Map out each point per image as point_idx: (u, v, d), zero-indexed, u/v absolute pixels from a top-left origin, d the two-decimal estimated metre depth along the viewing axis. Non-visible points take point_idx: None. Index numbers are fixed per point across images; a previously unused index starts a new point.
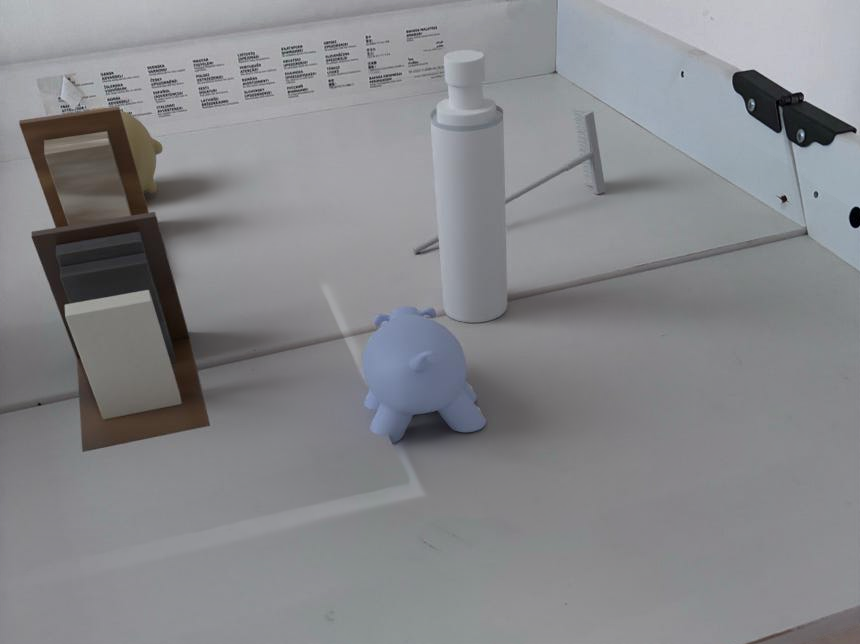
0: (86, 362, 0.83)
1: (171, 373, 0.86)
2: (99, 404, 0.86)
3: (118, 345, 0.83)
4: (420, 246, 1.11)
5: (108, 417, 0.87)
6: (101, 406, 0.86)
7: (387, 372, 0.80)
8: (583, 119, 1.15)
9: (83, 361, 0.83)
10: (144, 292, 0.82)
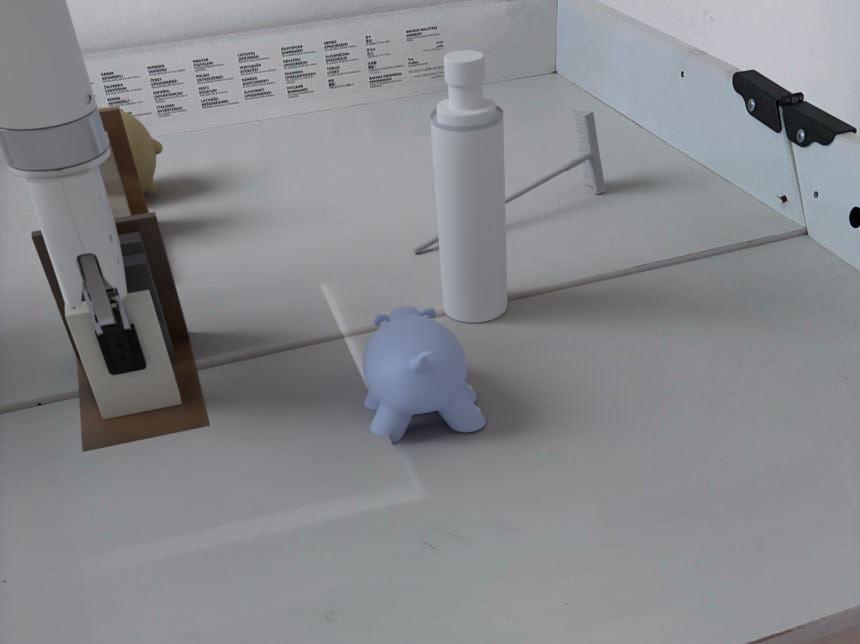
0: (86, 362, 0.83)
1: (171, 373, 0.86)
2: (99, 404, 0.86)
3: None
4: (420, 246, 1.11)
5: (108, 417, 0.87)
6: (101, 406, 0.86)
7: (387, 372, 0.80)
8: (582, 119, 1.15)
9: (83, 361, 0.83)
10: (144, 292, 0.82)
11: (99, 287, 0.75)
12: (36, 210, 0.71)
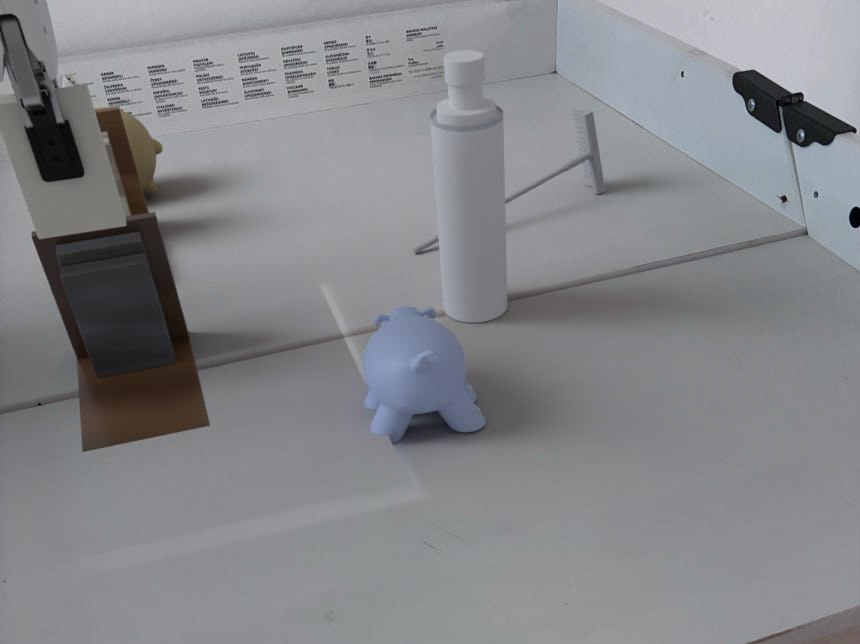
0: (16, 165, 0.74)
1: (113, 186, 0.77)
2: (33, 219, 0.77)
3: None
4: (420, 246, 1.11)
5: (44, 236, 0.78)
6: (35, 222, 0.78)
7: (387, 372, 0.80)
8: (582, 119, 1.15)
9: (13, 164, 0.74)
10: (81, 86, 0.74)
11: (23, 58, 0.67)
12: None
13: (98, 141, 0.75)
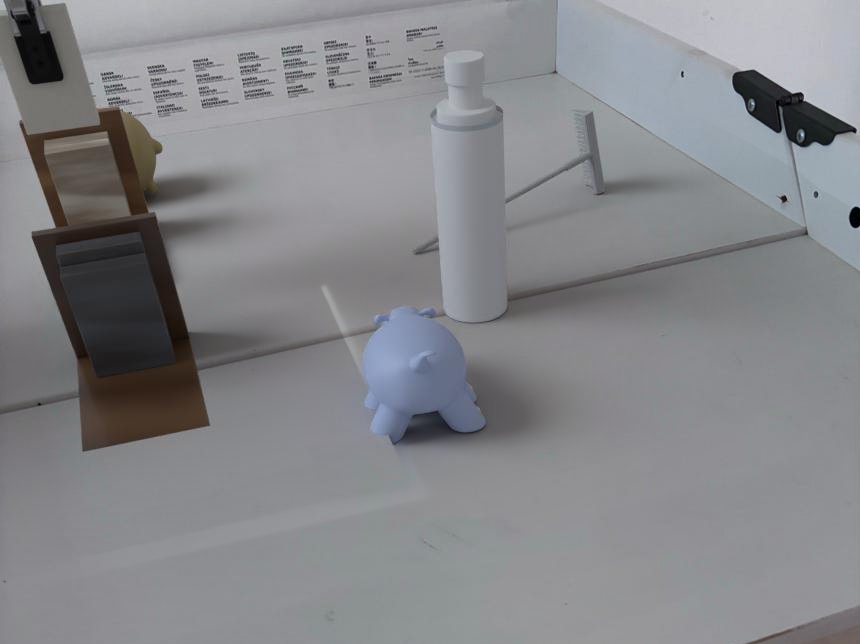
0: (8, 70, 0.91)
1: (88, 90, 0.94)
2: (22, 117, 0.94)
3: None
4: (420, 246, 1.11)
5: (31, 132, 0.95)
6: (24, 120, 0.94)
7: (387, 372, 0.80)
8: (582, 119, 1.15)
9: (5, 68, 0.91)
10: (61, 4, 0.90)
11: None
12: None
13: (75, 50, 0.92)
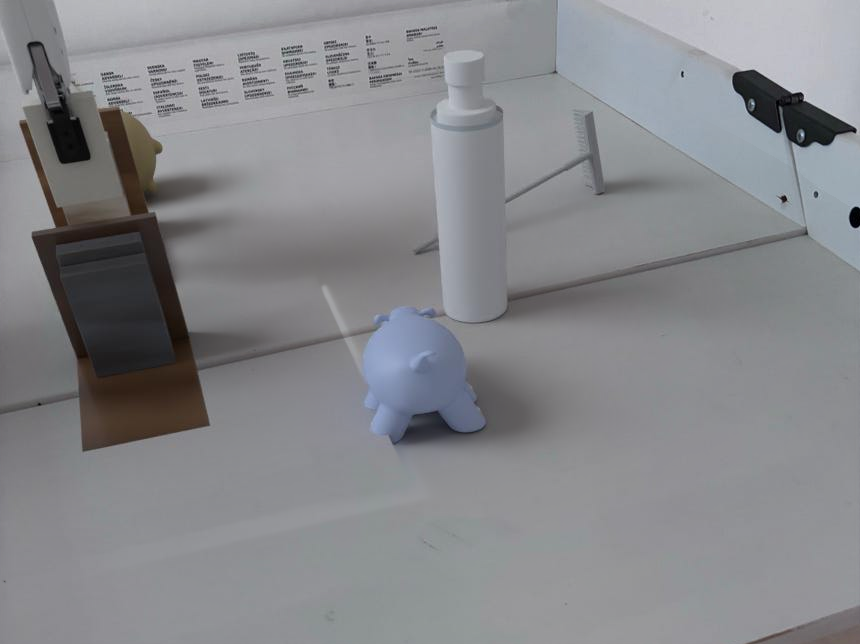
0: (41, 151, 1.00)
1: (113, 166, 1.03)
2: (53, 192, 1.03)
3: None
4: (420, 246, 1.11)
5: (61, 205, 1.04)
6: (55, 194, 1.03)
7: (387, 372, 0.80)
8: (582, 119, 1.15)
9: (38, 150, 1.00)
10: (88, 92, 0.99)
11: (46, 73, 0.92)
12: None
13: (101, 132, 1.01)
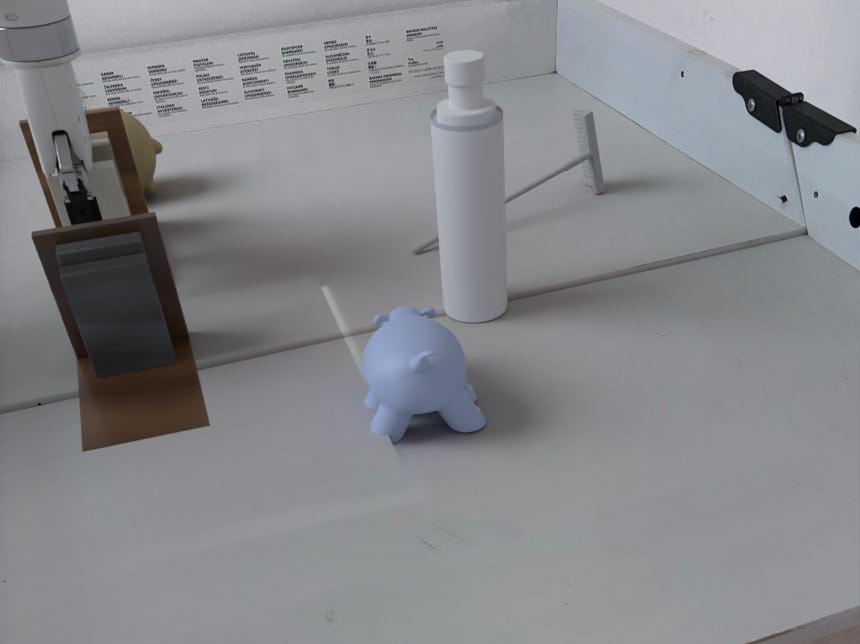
0: (63, 217, 1.05)
1: None
2: None
3: None
4: (420, 246, 1.11)
5: None
6: None
7: (387, 372, 0.80)
8: (582, 119, 1.15)
9: (60, 216, 1.05)
10: (109, 161, 1.04)
11: None
12: (21, 92, 0.93)
13: (121, 199, 1.06)
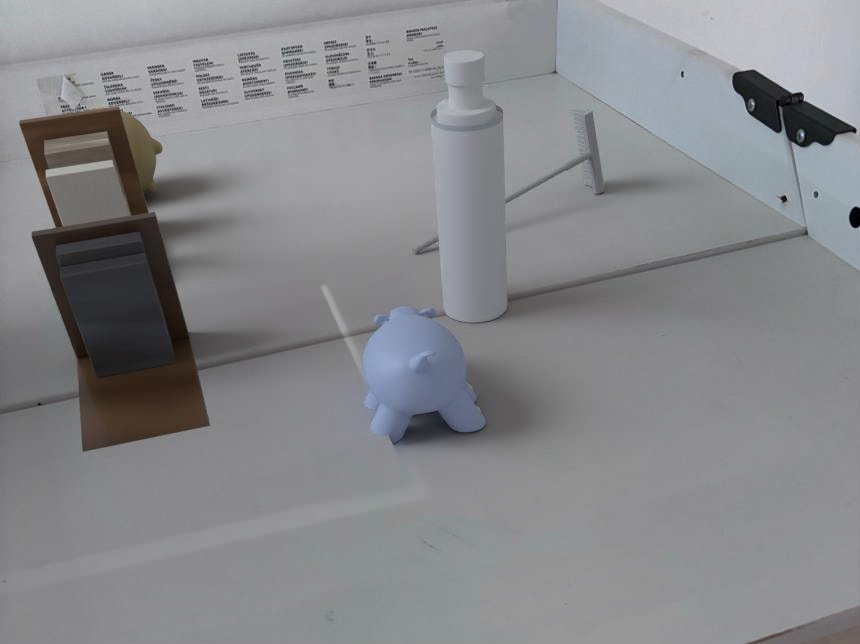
0: (63, 217, 1.05)
1: None
2: None
3: (88, 204, 1.05)
4: (420, 246, 1.11)
5: None
6: None
7: (387, 372, 0.80)
8: (582, 119, 1.15)
9: (60, 216, 1.05)
10: (109, 161, 1.04)
11: None
12: None
13: (121, 199, 1.06)
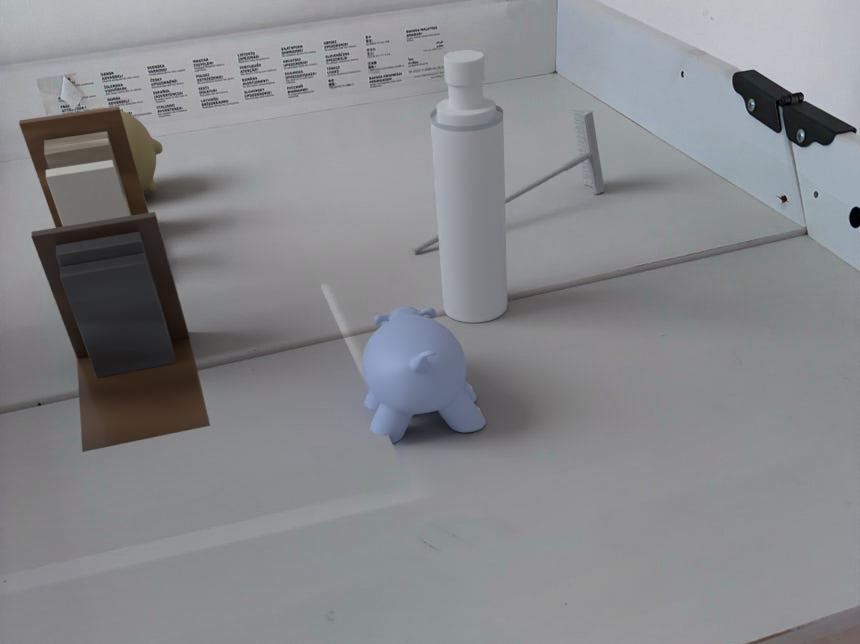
0: (63, 217, 1.05)
1: None
2: None
3: (88, 204, 1.05)
4: (420, 246, 1.11)
5: None
6: None
7: (387, 372, 0.80)
8: (582, 119, 1.15)
9: (60, 216, 1.05)
10: (109, 161, 1.04)
11: None
12: None
13: (121, 199, 1.06)
